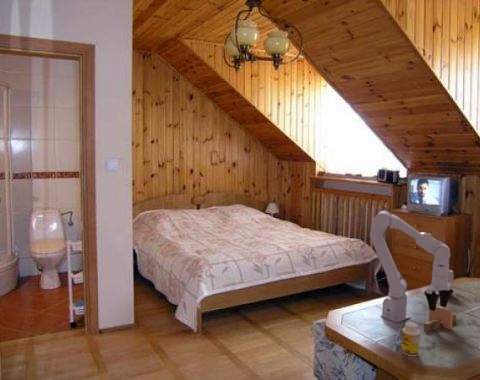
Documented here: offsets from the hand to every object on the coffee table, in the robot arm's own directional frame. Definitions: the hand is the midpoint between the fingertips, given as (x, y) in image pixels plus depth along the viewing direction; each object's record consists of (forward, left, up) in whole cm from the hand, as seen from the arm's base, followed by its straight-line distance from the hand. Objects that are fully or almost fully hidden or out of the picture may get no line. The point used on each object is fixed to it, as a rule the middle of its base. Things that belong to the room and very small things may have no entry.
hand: (437, 308), depth 174 cm
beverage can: (+37, +19, -7) cm, 42 cm away
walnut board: (-1, -2, -6) cm, 7 cm away
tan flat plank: (0, -1, -6) cm, 6 cm away
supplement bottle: (-32, -10, -7) cm, 34 cm away
